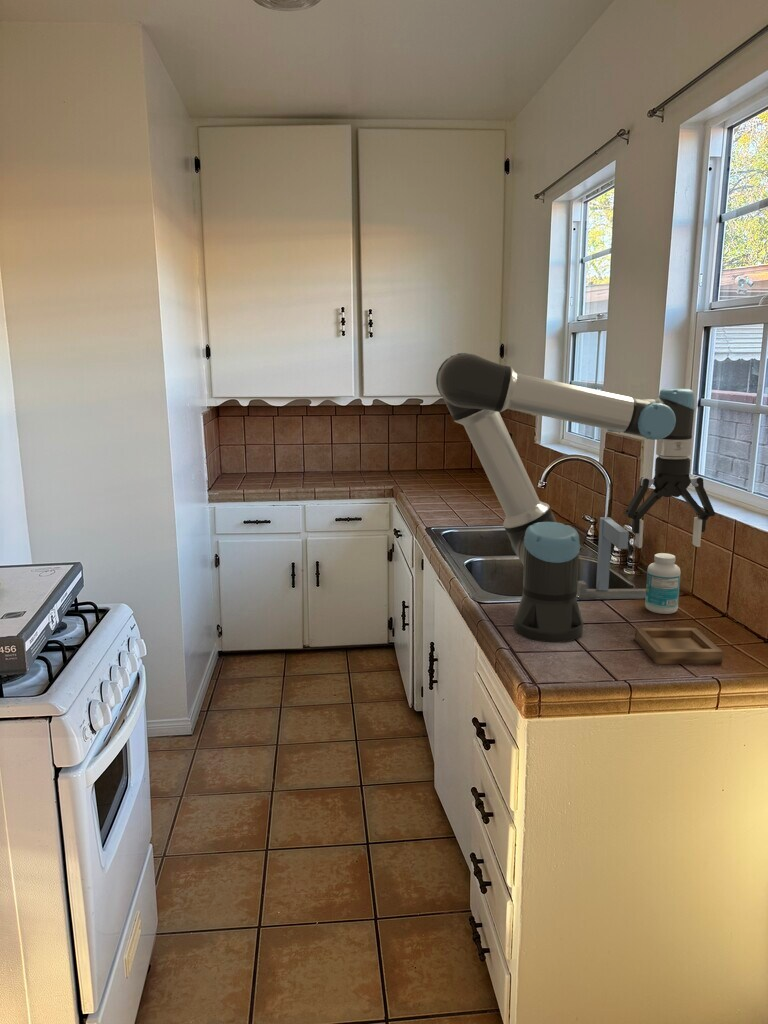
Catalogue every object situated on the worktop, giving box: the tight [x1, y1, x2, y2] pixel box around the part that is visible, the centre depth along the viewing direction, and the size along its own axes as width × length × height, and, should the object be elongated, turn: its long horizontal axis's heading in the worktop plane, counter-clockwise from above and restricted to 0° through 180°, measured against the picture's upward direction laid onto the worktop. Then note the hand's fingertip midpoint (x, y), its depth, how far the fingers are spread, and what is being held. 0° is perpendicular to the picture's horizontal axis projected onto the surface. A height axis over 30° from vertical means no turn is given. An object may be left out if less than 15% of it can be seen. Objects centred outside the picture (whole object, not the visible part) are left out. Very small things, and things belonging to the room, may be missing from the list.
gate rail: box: [577, 580, 646, 601], centre depth 184 cm, size 23×3×4 cm, turn 90°
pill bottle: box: [644, 552, 682, 615], centre depth 175 cm, size 8×7×14 cm
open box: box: [634, 627, 724, 665], centre depth 151 cm, size 13×13×2 cm
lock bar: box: [595, 516, 629, 590], centre depth 176 cm, size 2×15×18 cm, turn 0°
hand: (667, 546), depth 173 cm, fingers open, 13 cm apart
